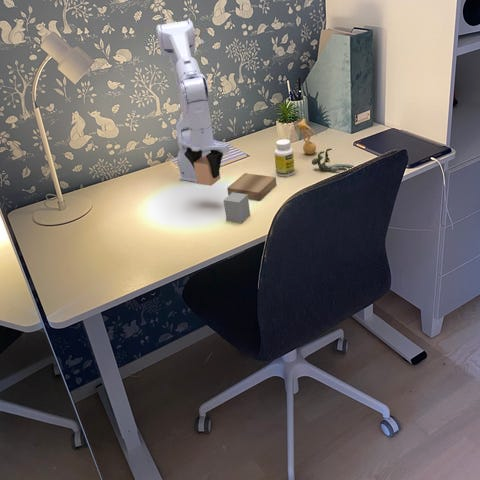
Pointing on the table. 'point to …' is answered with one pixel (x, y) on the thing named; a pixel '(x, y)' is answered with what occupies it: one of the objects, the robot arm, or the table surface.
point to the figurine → (308, 146)
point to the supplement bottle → (284, 158)
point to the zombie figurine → (324, 168)
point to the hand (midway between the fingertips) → (208, 175)
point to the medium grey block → (237, 207)
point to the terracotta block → (204, 172)
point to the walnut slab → (253, 186)
